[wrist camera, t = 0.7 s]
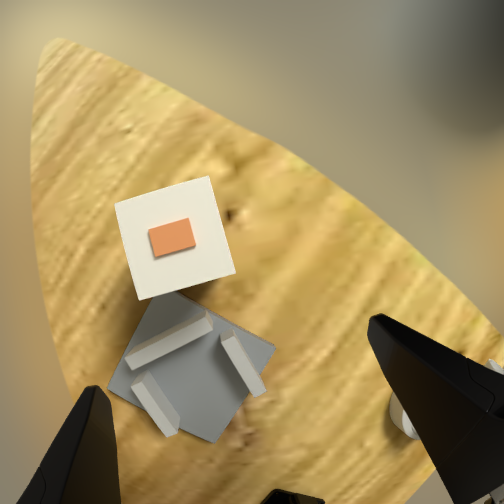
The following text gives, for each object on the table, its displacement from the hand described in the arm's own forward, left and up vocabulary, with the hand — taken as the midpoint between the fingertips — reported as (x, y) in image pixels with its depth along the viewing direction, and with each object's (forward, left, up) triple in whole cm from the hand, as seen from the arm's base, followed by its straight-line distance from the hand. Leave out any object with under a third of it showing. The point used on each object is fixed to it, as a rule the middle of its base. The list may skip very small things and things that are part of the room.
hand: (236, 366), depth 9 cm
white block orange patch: (+2, +4, -15) cm, 16 cm away
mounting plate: (-6, 0, -15) cm, 17 cm away
